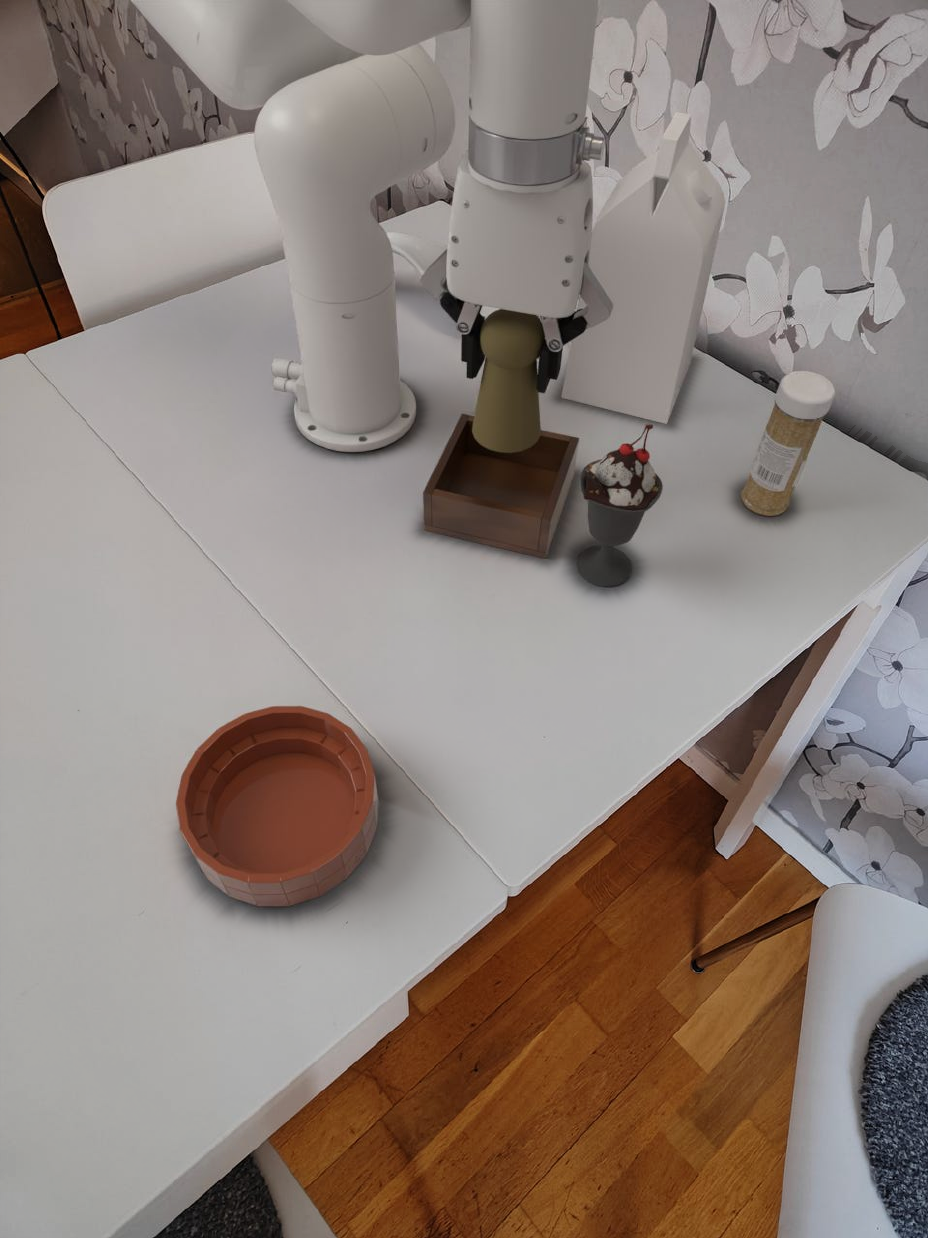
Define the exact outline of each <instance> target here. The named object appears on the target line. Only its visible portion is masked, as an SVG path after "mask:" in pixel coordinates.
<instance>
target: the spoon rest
mask: <svg viewBox="0 0 928 1238" xmlns="http://www.w3.org/2000/svg"><path fill="white" fill-rule="evenodd" d="M385 232H386V231H385ZM386 234H387V236H388V238H389V241H390V244H391V247H392V253H394V254H397V255H398V256H400V257H402V258H403V259H405V260H406V261H407V262H408V264H410V265H411V266H412V267H413V269H414V270H415V271H416V273H417V274H418V275H419V276H420V278H421V277H422V276H423V274H424V273H425V271H426V270H427V268H428V267H429V266H430V265H431V264H432V263H433V262H434V261H435V260H436V259H437V258H438V257H439V256H440V255H441V254H442V253H443V252H444V251H445V250H446V249H447V246H448V244H443V243H440V242H437V241H434V240H430V239H428V238H424V237H421V236H417V235H413V234H409V233H405V232H399V231H387V232H386ZM446 278H447V277H446ZM436 300H437V302H438V303H439V304H440V301H439V300H438V299H436ZM496 310H499V308H494V307H489V306H483V307H482V309H481V312H480V314H481V315H482V316H485V320H486V318H487V317H488V316H489V314H491V313H492V312H494V311H496Z"/></svg>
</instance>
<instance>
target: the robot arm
mask: <svg viewBox="0 0 928 1238" xmlns="http://www.w3.org/2000/svg"><path fill="white" fill-rule="evenodd" d="M129 1H130V2H131V3H132V4H133V6H135V7H136V8H137V10H138V11H139V12H140V13H141V14H142V16H143V17H144V18H145V20H146V21H147V22H148V23H149V24H150V25H151V26H152V27H153V28H154V30H155V31H156V32H157V33H158V34H159V36H161V38H162V39H163V40H164V41H165V42H166V44H167V45H168V46H169V47H171V49H172V50H173V51H174V53H176V55H177V56H178V57H179V58H180V59H181V60H182V62H183V63H185V65H186V66H188V69H190V70H191V71H192V73H193V74H194V75H195V76H196V77H197V78H198V79H199V80H200V81H201V82H202V83H203V85H204V86H205V87H206V88H207V89H208V90H209V91H210V92H211V93H212V94H213V95H214V96H215V97H216V98H218V100H220V102H222V103H224V104H225V105H226V106H228V107H230V108H233V109H235V110H241V111H250V110H251V111H252V110H255V109H259V108H261V110H260V111H259V113H258V116H257V118H256V121H255V125H254V132H253V133H254V134H253V135H254V136H253V141H254V142H253V143H254V149H255V154H256V159H257V163H258V166H259V168H260V172H261V175H262V177H263V181H264V183H265V185H266V188H267V191H268V194H269V197H270V200H271V203H272V206H273V209H274V212H275V216H276V220H277V224H278V229H279V234H280V237H281V241H282V246H283V247H282V248H283V252H284V259H285V263H286V271H287V277H288V282H289V288H290V296H291V301H292V307H293V308H292V309H293V313H294V314H293V315H294V321H295V327H296V334H297V340H298V347H299V353H300V354H299V355H300V360H301V363H300V362H295V361H293V360H291V359H290V360H289V359H285V358H282V357H281V358H280V357H275V358H274V359H273V361H272V363H271V373H272V376H273V377H274V379H273V382H272V387H273V390H275V391H278V392H282V393H290V394H291V393H292V394H293V396H294V397H296V398H295V401H294V408H293V414H294V421H295V424H296V427H297V428H298V430H299V431H300V433H301V434H302V435H303V436H304V437H305V438H306V439H307V440H308V441H310V442H312V443H314V444H315V445H317V446H319V447H322V448H324V449H328V450H332V451H337V452H344V453H361V452H369V451H373V450H377V449H380V448H383V447H386V446H388V445H391V444H393V443H395V442H396V441H398V440H399V439H401V438H402V437H403V436H405V435H406V434H407V433H408V432H409V431H410V429H411V427H412V426H413V425H414V423H415V419H416V416H417V403H416V402H417V401H416V397H415V395H414V393H413V390H411V389H410V387H409V386H408V384H407V383H405V382H404V381H403V380H401V379H400V378H401V377H400V358H399V356H400V355H399V339H398V320H397V302H396V301H397V299H396V280H395V278H396V277H395V264H394V254H393V253H394V252H392V247H391V244H390V241H389V238H388V236H387V234H386V230H385V229H384V228H383V227H382V225H381V224H380V223H379V222H378V220H377V219H376V218H375V216H374V215H373V212H372V210H371V202H372V201H373V199H374V198H375V197H376V196H378V195H380V194H381V193H383V192H385V191H386V190H388V189H389V188H390V187H392V186H395V185H396V184H398V183H400V182H403V181H405V180H407V179H408V178H411V177H413V176H415V175H417V174H418V173H420V172H422V171H424V170H426V169H428V168H429V167H431V166H433V165H434V164H435V163H437V162H438V161H439V160H440V159H441V158H442V157H443V156H444V155H445V154H446V153H447V151H448V150H449V147H450V146H451V144H452V142H453V139H454V135H455V131H456V109H455V104H454V100H453V97H452V94H451V90H450V88H449V86H448V83H447V81H446V80H445V77H444V75H443V73H442V72H441V70H440V68H439V67H438V65H437V64H436V62H435V61H434V60H433V59H432V57H431V56H430V55H429V53H428V51H426V49H425V48H424V47H423V46H422V45H421V44H420V43H422V42H426V41H428V40H430V39H433V38H435V37H438V36H441V35H443V34H446V33H449V32H453V31H459V30H461V29H466V28H469V27H470V30H469V33H470V35H469V83H468V84H469V89H468V90H469V96H468V141H467V142H468V147H467V148H468V149H466V150H465V151H464V152H463V153H462V155H461V159H460V161H459V165H458V168H457V171H456V172H457V173H456V177H455V183H454V188H453V193H452V202H451V208H450V217H449V224H448V225H449V226H448V234H447V249H446V250H445V251H444V252H443V253H442V254H441V255H440V256H439V257H438V258H437V259H436V260H435V261H434V262H433V263H432V264H431V265H430V266H429V267H428V268H427V270H426V271H425V273H424V274H423V276H422V277H421V276H420V281H419V283H420V285H421V287H423V288H424V289H425V290H426V291H427V292H428V293H429V294H430V295H431V296H432V297H433V298H434V299H436V300H437V299H438V300H439V301H440V303H439V305H440V307H441V308H442V309H443V310H444V312H445V313H446V314H447V315H448V316H449V317H450V318H451V320H453V322H455V324H456V325H455V329H456V331H457V332H458V333H459V334H460V335H461V350H460V351H461V352H460V353H461V355H460V356H461V357H460V359H461V362H463V363H466V379H469V380H470V379H471V380H474V379H476V378H477V376H478V374H479V372H480V370H481V368H482V366H483V365H484V363H485V358H486V356H485V355H484V353H483V351H482V349H481V345H480V331H481V327H482V324H483V322H484V321H485V316H482V315H481V314H480V312H481V309H482V307H483V306H489V307H494V308H499V309H504V310H510V311H515V312H521V313H527V314H532V315H537V316H538V317H539V318H540V320H541V322H542V326H543V330H544V334H545V341H544V343H543V345H542V347H541V350H540V354H539V358H538V364H537V374H538V375H537V386H536V390H538V392H539V394H546V392H547V389H548V386H549V384H550V381H551V380H554V381H557V380H558V378H559V375H560V371H561V366H562V359H563V349H564V346H565V345H567V344H568V343H571V342H572V340H573V339H575V338H576V337H578V336H579V335H581V334H582V333H584V331H585V330H586V329H588V328H590V327H591V328H592V327H594V326H595V325H597V324H599V323H601V322H603V321H605V320H607V319H608V318H609V317H610V315H611V312H612V309H613V303H612V301H611V300H610V298H609V297H608V295H607V294H606V292H605V291H604V289H603V288H602V286H601V284H600V283H599V281H598V280H597V278H596V277H595V275H594V274H593V272H592V271H591V269H590V267H589V263H590V252H591V239H592V231H593V222H594V187H593V186H594V185H593V173H592V167H591V165H590V164H589V163H588V162H590V161H591V160H594V161H602V159H603V155H604V151H605V145H606V137H604V136H598V135H597V136H596V135H595V133H593V132H590V127H588V126H587V125H588V116H586V115H587V107H588V106H587V105H588V98H589V89H590V82H591V81H590V80H591V71H592V63H593V55H594V54H593V53H594V45H595V36H596V27H597V19H598V12H599V3H600V0H129ZM446 277H447V278H446ZM580 296H581V297H582V299H583V300H584V302H585V303H586V305H587V306H586V307H585V308H584V309H579V310H576V308H577V306H578V302H579V298H580ZM438 300H437V301H438Z"/></svg>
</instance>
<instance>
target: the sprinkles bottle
mask: <svg viewBox="0 0 928 1238" xmlns="http://www.w3.org/2000/svg"><path fill="white" fill-rule="evenodd" d="M835 395H836V388H835V385H834V384H833V383H832V382H831V381H830V380H829V379H828V378H827V377H825V376H824V375H821V374H819V373H817V372H813V371H807V370H795V371H791V372H789V373H786V375H784V376H783V377H782V378H781V380H780V382H779V385H778V387H777V390H776V393H775V396H774V405H773V407H772V410H771V413H770V416H769V418H768V421H767V423H766V425H765V428H764V431H763V434H762V437H761V439H760V442H759V444H758V447H757V450H756V452H755V455H754V459H753V462H752V465H751V468H750V471H749V475H748V478H747V480H746V484H745V486H744V487H743V489H742V491H741V500H742V502H743V504H744V505H745V507H746V508H747V509H749V510H750V511H752V512H753V513H755V514H758V515H761V516H766V517H771V516H778V515H781V514H782V513H783V514H784V512H786V510H787V509H788V508H789V506H790V501H791V498H792V496H793V492H794V491H795V487H796V485H797V484H798V482H799V480H800V478H801V475H802V473H803V470H804V468H805V466H806V463H807V460H808V457H809V454H810V451H811V448H812V446H813V445H814V442H815V439H816V437H817V434H818V432H819V429H820V426H821V425H822V422H823V419H824V417H825V416H826V415H827V413H829V410H830V409H831V407H832V404H833V401H834V399H835Z"/></svg>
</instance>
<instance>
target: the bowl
mask: <svg viewBox="0 0 928 1238" xmlns="http://www.w3.org/2000/svg"><path fill="white" fill-rule="evenodd" d="M175 806H176V813H177V820H178V826H179V831H180V833H181V835H182V837H183V839H184V840H185V842H186V844H187V846H188V848H189V850H190V852H191V853H192V855H193V856H194V859H195V860H196V863H198V865H199V867H200V869H201V871H202V872H203V874H204V876H205V877H206V879H207V880H208V881H209V882H210V883H212V884H213V885H214V886H216V887H217V888H218V889H219V890H220V891H222V892H223V893H224V894H226V895H227V896H228V897H230V898H231V899H234V900H235V899H236V900H238V901H241V902H244V903H247V904H250V905H254V906H258V907H290V906H294V905H297V904H301V903H304V902H306V901H310V900H312V899H316V898H319V897H322V896H323V895H325V894H326V893H328V892H329V891H331V890H332V889H333V888H335V887H337V886H338V885H339V884H341V883H342V882H344V881H346V880H347V879H348V878H349V877H350V875H351V874H352V873H353V872H354V870H355V869H356V868H357V867H358V866H359V864H360V863H361V862H362V861H363V860H364V858H365V857H366V855H367V854H368V851H369V849H370V846H371V844H372V842H373V839H374V837H375V834H376V831H377V827H378V814H379V797H378V790H377V781H376V774H375V770H374V767H373V764H372V761H371V758H370V755H369V751H368V748H367V747H366V746H365V744H364V743H363V742H362V740H361V739H360V738H359V737H358V735H357V734H356V733H355V731H354V730H353V729H352V727H350V726H348V724H345V723H344V722H342V721H341V720H340V719H338V718H336V717H335V716H333V715H332V714H330V713H327V712H324V711H321V710H318V709H313V708H310V707H307V706H303V705H274V706H269V707H265V708H264V707H263V708H261V709H257V710H253V711H249V712H246V713H243V714H242V715H240V716H238V717H236V718H234V719H232V720H230V721H229V722H227V723H225V724H224V725H221V726H220V727H218V728H217V729H216V730H215V731H214V732H212V734H210V736H209V737H208V738H207V739H205V740H204V741H203V742H202V743H201V744H200V745H199V746H198V747H197V748H196V749H195V751H194V753H193V755H192V756H191V758H190V760H189V761H188V763H187V765H186V767H185V768H184V770H183V772H182V774H181V777H180V781H179V786H178V791H177V796H176V800H175Z"/></svg>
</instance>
